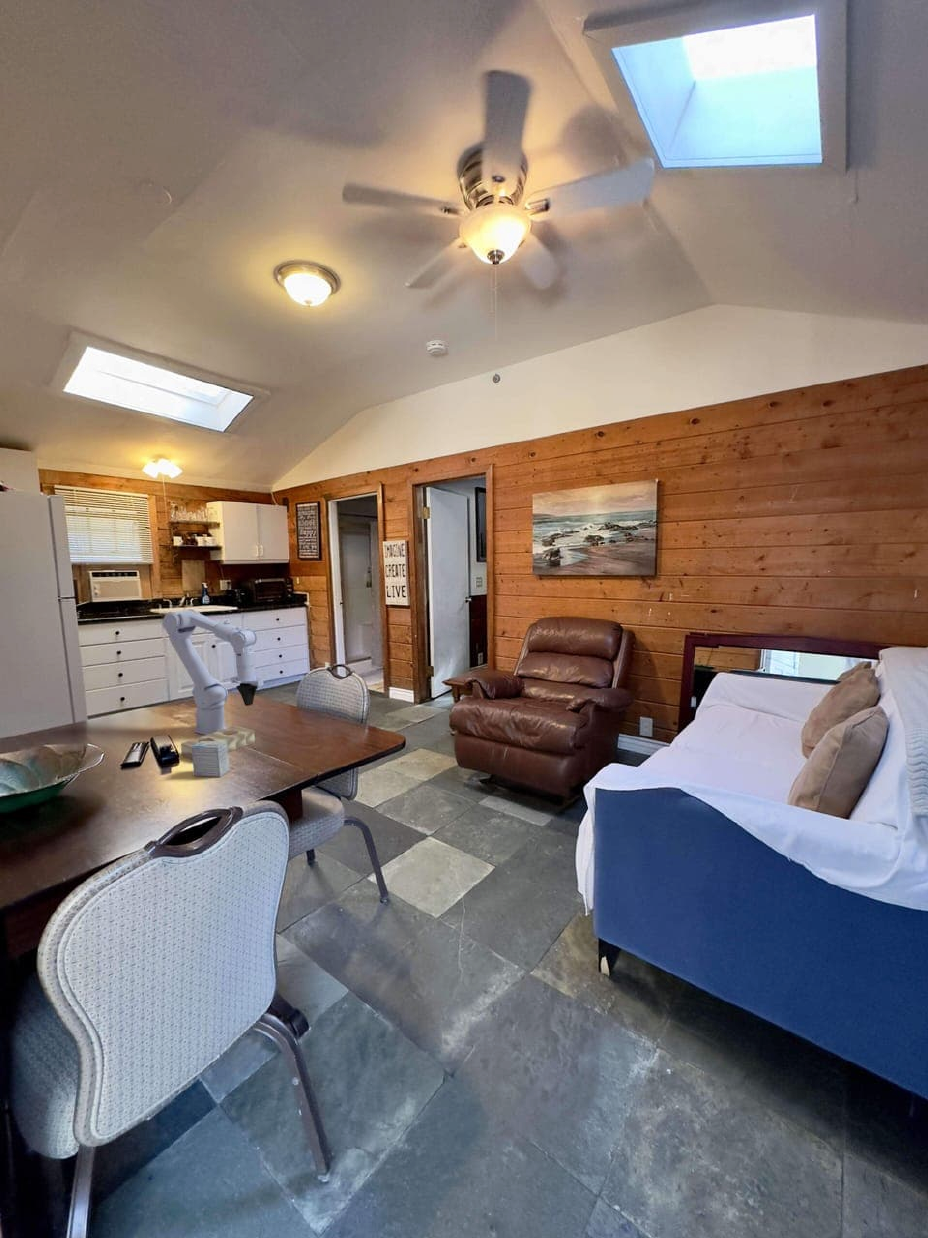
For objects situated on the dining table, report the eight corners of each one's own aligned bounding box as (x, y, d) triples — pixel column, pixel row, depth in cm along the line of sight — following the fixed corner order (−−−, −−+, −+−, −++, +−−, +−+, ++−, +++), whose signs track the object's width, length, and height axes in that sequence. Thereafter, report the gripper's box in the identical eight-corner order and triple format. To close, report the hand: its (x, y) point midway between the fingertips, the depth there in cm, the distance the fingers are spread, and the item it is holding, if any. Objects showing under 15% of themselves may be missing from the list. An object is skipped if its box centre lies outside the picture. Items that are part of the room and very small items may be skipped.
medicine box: (230, 770, 135) (227, 741, 134) (220, 777, 130) (218, 747, 129) (203, 769, 135) (201, 740, 134) (193, 776, 131) (190, 746, 130)
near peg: (205, 755, 145) (204, 742, 145) (199, 753, 147) (198, 740, 146) (214, 751, 148) (214, 739, 147) (209, 750, 149) (208, 737, 149)
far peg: (229, 746, 152) (228, 734, 152) (224, 744, 154) (223, 732, 153) (238, 743, 155) (237, 731, 154) (232, 741, 156) (231, 729, 156)
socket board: (201, 762, 140) (200, 749, 140) (181, 756, 145) (180, 743, 145) (254, 742, 156) (254, 730, 155) (235, 737, 161) (234, 725, 160)
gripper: (221, 666, 161) (224, 705, 162) (248, 670, 153) (252, 711, 155) (240, 662, 167) (243, 700, 168) (267, 665, 160) (270, 705, 161)
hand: (248, 705), depth 162 cm, fingers closed
